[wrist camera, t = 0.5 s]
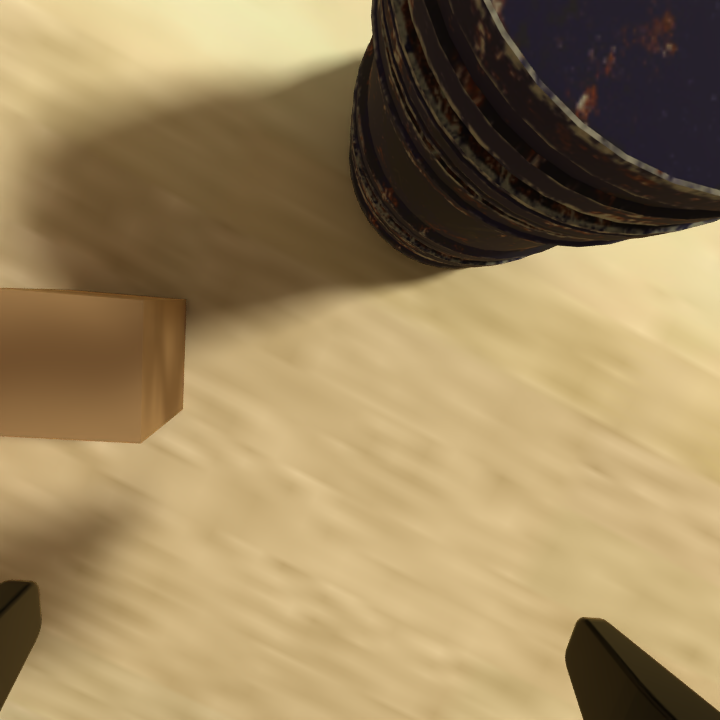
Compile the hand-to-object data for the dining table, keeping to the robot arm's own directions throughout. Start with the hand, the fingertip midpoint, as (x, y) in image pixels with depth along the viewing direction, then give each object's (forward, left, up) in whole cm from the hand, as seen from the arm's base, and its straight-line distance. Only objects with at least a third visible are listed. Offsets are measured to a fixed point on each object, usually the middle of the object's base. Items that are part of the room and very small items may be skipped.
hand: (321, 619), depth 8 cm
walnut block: (0, +9, -14) cm, 17 cm away
